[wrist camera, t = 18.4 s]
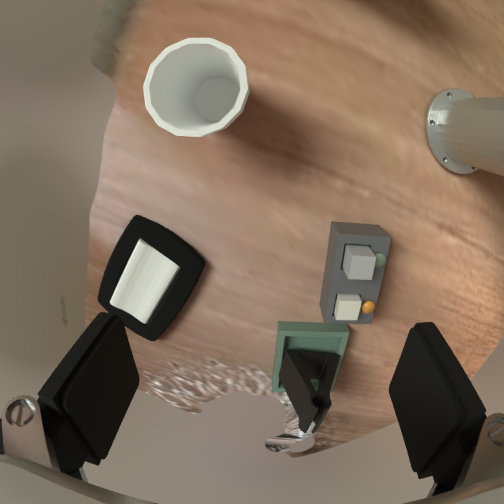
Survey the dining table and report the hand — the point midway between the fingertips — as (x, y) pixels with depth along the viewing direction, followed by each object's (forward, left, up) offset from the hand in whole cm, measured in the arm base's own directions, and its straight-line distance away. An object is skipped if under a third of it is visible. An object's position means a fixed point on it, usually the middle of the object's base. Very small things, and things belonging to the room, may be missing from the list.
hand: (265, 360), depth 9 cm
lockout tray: (-8, +28, -32) cm, 44 cm away
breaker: (-11, +8, -28) cm, 31 cm away
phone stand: (-8, +28, -30) cm, 42 cm away
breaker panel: (-12, +11, -32) cm, 36 cm away
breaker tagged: (-11, +15, -29) cm, 35 cm away
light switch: (+18, +16, -33) cm, 41 cm away
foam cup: (+7, -11, -33) cm, 35 cm away
